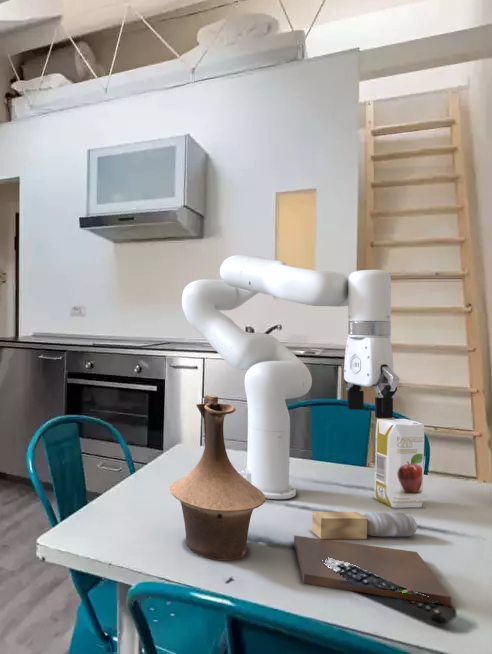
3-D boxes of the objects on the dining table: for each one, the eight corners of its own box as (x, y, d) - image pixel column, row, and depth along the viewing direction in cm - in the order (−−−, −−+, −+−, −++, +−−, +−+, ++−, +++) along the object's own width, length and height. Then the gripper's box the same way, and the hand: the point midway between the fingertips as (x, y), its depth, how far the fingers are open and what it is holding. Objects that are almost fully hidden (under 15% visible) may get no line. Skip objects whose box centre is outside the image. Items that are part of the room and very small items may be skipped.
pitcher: (160, 526, 110) (162, 389, 109) (245, 528, 109) (248, 390, 109) (179, 568, 92) (181, 404, 92) (280, 570, 92) (283, 406, 91)
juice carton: (369, 497, 128) (371, 417, 128) (403, 496, 129) (405, 417, 129) (392, 509, 121) (394, 424, 120) (428, 508, 122) (430, 424, 121)
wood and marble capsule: (322, 539, 104) (322, 517, 104) (310, 530, 109) (311, 508, 109) (422, 540, 105) (422, 517, 105) (406, 530, 109) (407, 509, 109)
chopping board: (303, 583, 88) (304, 574, 88) (293, 543, 103) (293, 535, 103) (450, 606, 81) (451, 596, 81) (416, 560, 96) (417, 551, 96)
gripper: (328, 329, 120) (328, 406, 120) (376, 331, 103) (376, 421, 103) (362, 329, 120) (362, 406, 120) (416, 331, 103) (416, 421, 103)
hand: (369, 413), depth 112 cm, fingers open, 9 cm apart
